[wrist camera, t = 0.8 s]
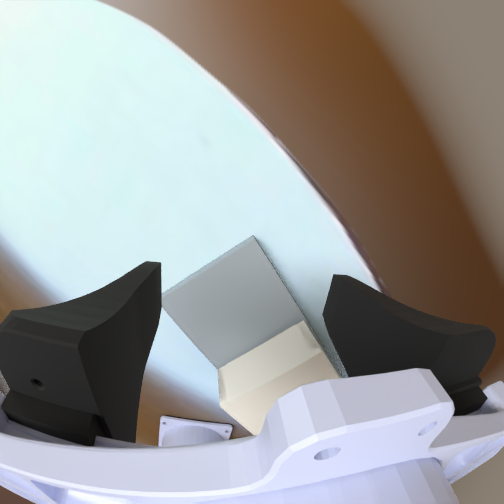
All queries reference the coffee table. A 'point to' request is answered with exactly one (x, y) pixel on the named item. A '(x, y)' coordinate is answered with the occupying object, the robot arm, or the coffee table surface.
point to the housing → (271, 375)
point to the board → (234, 305)
